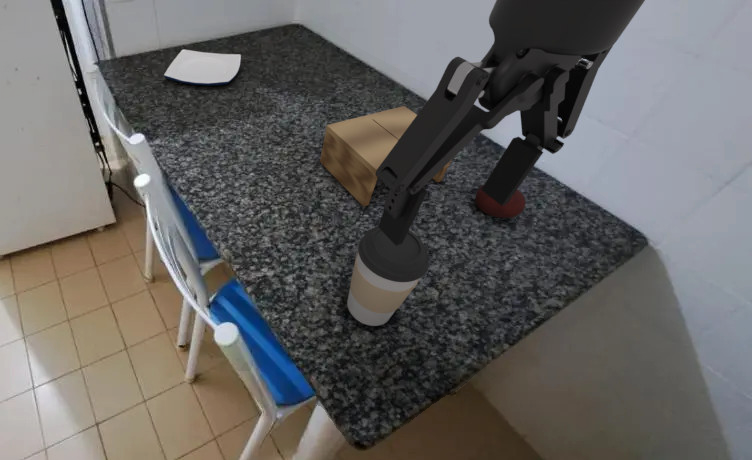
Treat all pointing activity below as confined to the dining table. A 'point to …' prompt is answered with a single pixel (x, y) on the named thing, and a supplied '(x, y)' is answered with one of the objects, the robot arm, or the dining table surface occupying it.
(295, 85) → the dining table surface
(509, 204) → the potato
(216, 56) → the plate
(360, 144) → the board
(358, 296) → the coffee cup
